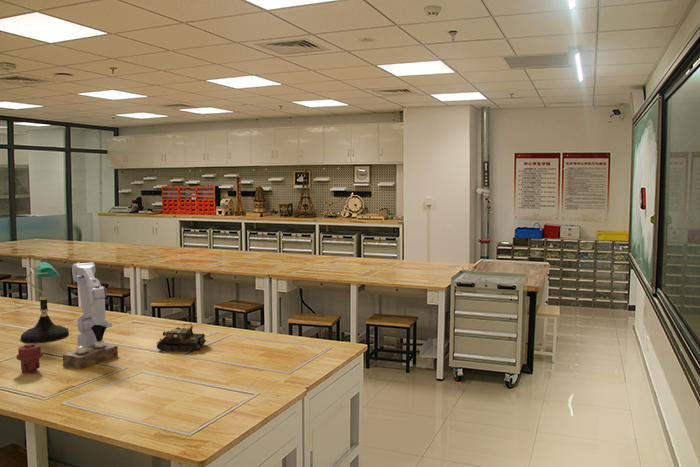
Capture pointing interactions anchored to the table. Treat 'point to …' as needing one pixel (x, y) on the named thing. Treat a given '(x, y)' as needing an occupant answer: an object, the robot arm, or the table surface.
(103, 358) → the walnut block
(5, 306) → the table surface
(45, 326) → the banker's lamp
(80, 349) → the peg
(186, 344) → the model tank
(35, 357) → the mechanical component
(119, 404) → the table surface
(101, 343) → the peg
